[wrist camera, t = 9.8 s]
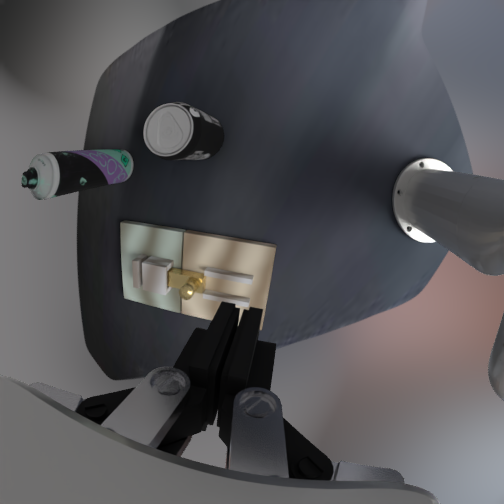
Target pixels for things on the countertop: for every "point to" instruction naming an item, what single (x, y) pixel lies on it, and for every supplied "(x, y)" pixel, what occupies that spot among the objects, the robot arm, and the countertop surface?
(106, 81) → the countertop surface
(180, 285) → the bolt
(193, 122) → the beverage can
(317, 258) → the countertop surface
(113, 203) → the countertop surface
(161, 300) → the latch board
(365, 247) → the countertop surface
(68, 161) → the spray can
